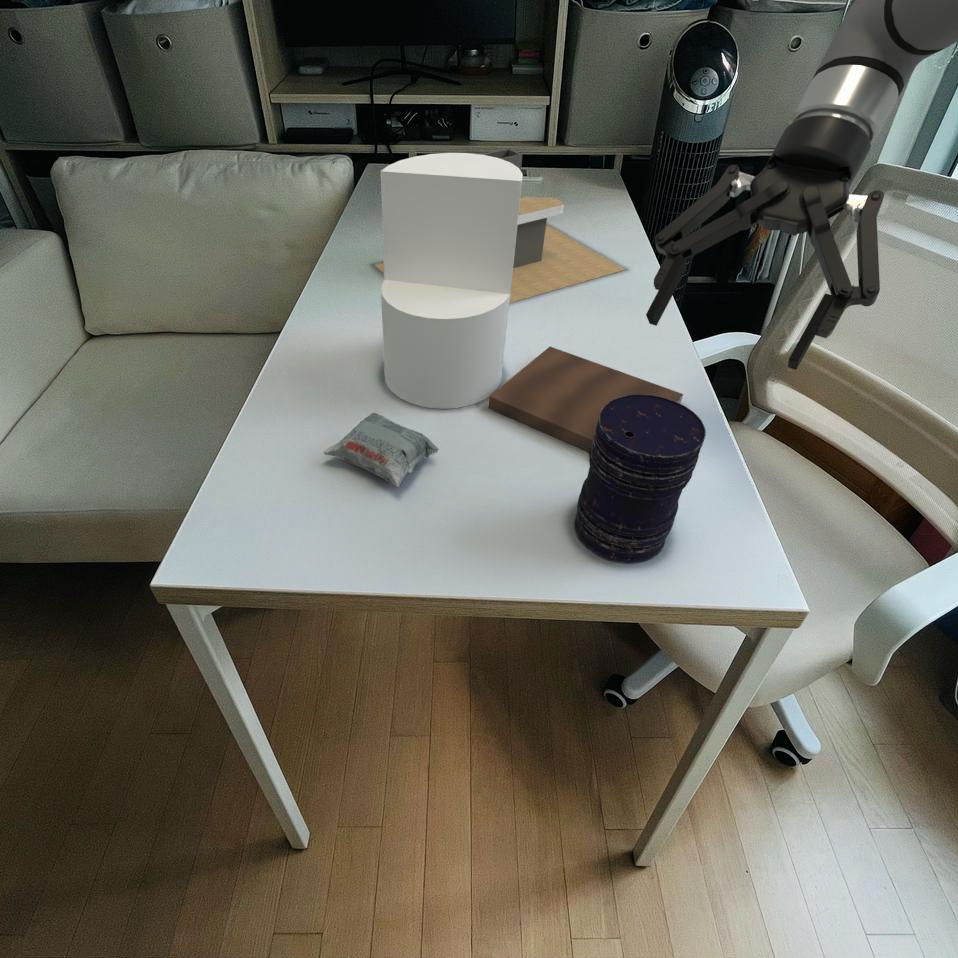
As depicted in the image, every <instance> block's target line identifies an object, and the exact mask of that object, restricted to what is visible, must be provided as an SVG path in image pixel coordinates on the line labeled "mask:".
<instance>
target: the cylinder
mask: <svg viewBox="0 0 958 958" xmlns="http://www.w3.org/2000/svg"><path fill="white" fill-rule="evenodd" d="M480 154H481V153H479V154H478V153H469V152H442V153H439V152H438V153H429V154H422V155H417V156H412V157H408V158H404V159H400V160H397V161H395V162H393V163H391V164H389V165H387V166H386V167H384V168H383V169H381V170H380V192H381V193H380V194H381V195H380V198H381V199H380V200H381V224H382V252H383V253H382V254H383V255H382V256H383V262H384V273H383V282H382V284H381V285H380V296H381V297H380V299H381V322H382V325H381V326H382V347H383V348H382V349H383V373H384V374H383V375H384V382H385V384H386V386H387V387H388V389H389V391H391V392H392V393H393V394H394V395H395V396H396V397H398V398H399V399H401V400H403V401H405V402H407V403H409V404H411V405H415V406H420V407H422V408H423V407H424V408H428V409H439V410H440V409H441V410H445V409H446V410H447V409H460V408H464V407H467V406H472V405H475V404H477V403H479V402H482V401H484V400H486V399H489V396H491V395H492V394H493V393H494V392H495V391H497V390H498V389H499V386H500V385H501V383H502V377H503V369H504V368H503V367H504V357H505V347H506V341H507V340H506V338H507V330H508V329H507V328H508V321H509V311H510V303H509V301H510V292H511V282H512V273H513V263H514V254H515V244H516V235H517V225H518V215H519V206H520V197H522V196H521V195H522V187H523V186H522V185H523V176H524V174H523V172H522V170H521V171H520V169H519V168H518V167H516V166H515V165H513V164H512V163H510V162H508V161H505V160H502V159H499V158H496V157H491V156H486V155H480Z"/></svg>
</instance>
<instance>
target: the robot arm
mask: <svg viewBox="0 0 958 958" xmlns="http://www.w3.org/2000/svg"><path fill="white" fill-rule="evenodd" d="M844 13H845V14H844V15H843V18H842V21H841V23H840V24H839V27H838V28H837V30H836V33H835V34H834V37H833V38H832V40H831V42H830V44H829V46H828V48H827V50H826V52H825V54H824V56H823V57H822V59H821V62H820V63H819V66H818V67H817V70H816V71H815V73H814V74H813V77H812V78H811V81H810V82H809V84H808V86H807V88H806V90H805V91H804V93H803V95H802V97H801V98H800V101H799V102H798V104H797V106H796V108H795V110H794V112H793V113H792V115H791V117H790V120H789V125H787V127H785V129H784V130H783V132H782V135H781V136H780V138H779V140H778V141H777V144H776V145H775V148H774V150H773V151H772V153H771V155H770V156H769V159H768V161H767V162H766V165H765V167H764V168H763V170H762V171H761V172H759V173H758V174H757V175H751V174H748V173H745V172H742V171H740V166H739V165H737V164H731V165H728V166H727V168H726V169H725V171H724V172H723V174H722V175H721V177H720V178H719V179H718V181H717V183H715V184H714V186H712V187H711V188H710V189H709V190H708V191H707V192H705V193H704V194H703V195H702V196H701V197H699V198H698V199H697V200H696V201H694V203H692V204H691V205H690V206H688V208H686V209H685V210H684V211H683V212H682V213H681V214H679V215H678V216H677V217H676V218H675V219H673V220H672V221H671V222H670V223H668V224H667V225H666V226H665V227H664V228H663V229H661V230H660V231H659V232H658V233H656V235H655V236H654V244H655V247H656V250H657V252H658V253H659V254H662V255H663V256H664V259H663V261H662V263H661V264H660V267H659V269H658V270H657V272H656V274H655V276H654V278H653V286H654V289H655V290H657V293H656V295H655V296H654V298H653V300H652V302H651V304H650V306H649V308H648V310H647V312H646V313H645V316H646V318H647V321H648V323H649V325H653V326H656V327H657V326H658V324H659V322H660V320H661V319H662V317H663V315H664V312H665V311H666V309H667V307H668V305H669V304H670V301H671V299H672V297H673V295H674V293H675V292H676V290H677V288H678V286H679V284H680V283H681V280H682V278H683V276H684V274H685V272H686V270H687V269H688V268H687V263H686V261H687V260H688V259H690V258H692V257H694V256H696V255H698V254H700V253H701V252H703V251H705V250H707V249H709V248H710V247H713V246H715V245H717V244H718V243H720V242H722V241H724V240H725V239H728V238H729V237H731V236H733V235H735V234H737V233H739V232H740V231H746V230H749V229H750V228H752V227H755V226H756V225H759V226H761V229H763V230H767V231H780V232H783V233H785V234H787V235H790V236H794V237H797V235H800V234H805V233H806V234H807V236H808V238H809V241H810V244H811V245H812V247H813V249H814V251H815V255H816V257H817V260H818V264H819V265H820V268H821V271H822V274H823V276H824V279H825V282H826V284H827V288H828V290H829V293H830V294H829V293H826V292H825V293H824V295H823V296H822V298H821V300H820V301H819V304H818V305H817V307H816V309H815V311H814V312H813V315H812V316H811V319H810V320H809V321H808V323H807V326H806V327H805V329H804V331H803V332H802V333H801V336H800V338H799V340H798V341H797V343H796V345H795V347H794V349H793V350H792V353H791V355H790V356H789V358H788V361H787V362H788V363H787V368H788V369H791V370H795V371H797V369H798V367H799V366H800V364H801V362H802V361H803V359H804V357H805V356H806V354H807V352H808V350H809V348H810V346H811V344H812V343H813V341H814V339H815V337H816V336H817V337H820V338H824V339H828V338H829V337H830V336H831V335H832V334H833V332H834V330H835V329H836V327H837V325H838V324H839V322H840V320H841V318H842V316H843V314H844V312H845V311H846V310H847V308H849V307H851V306H863V307H870V306H872V305H874V304H875V303H876V301H877V298H878V296H879V294H880V290H881V283H880V282H881V281H880V279H881V278H880V260H879V240H878V216H879V213H880V210H881V208H882V204H883V201H884V198H885V194H884V193H885V192H883V191H882V190H879V189H878V190H873V191H871V192H869V194H868V195H867V194H865V195H864V194H855V193H854V194H853V193H850V187H851V186H852V184H853V182H854V180H855V178H856V177H857V174H858V173H859V171H860V169H861V168H862V166H863V164H864V162H865V160H866V158H867V156H868V155H869V153H870V151H871V147H872V144H873V143H874V142H875V141H876V140H877V138H878V137H879V134H880V132H881V131H882V129H883V127H884V125H885V123H886V122H887V120H888V117H889V116H890V114H891V112H892V111H893V108H894V106H895V105H896V103H897V101H898V99H899V98H900V96H901V94H902V92H903V90H904V88H905V86H906V85H907V83H908V81H909V80H910V78H911V76H912V74H913V73H914V71H915V69H916V68H917V66H918V65H919V64H920V63H921V62H922V61H924V60H925V59H927V58H929V57H931V56H933V55H935V54H937V53H939V52H941V51H943V50H945V49H948V48H949V47H951V46H952V45H954V44H956V43H958V0H850V2H849V6H847V8H846V10H845V12H844ZM744 191H749V195H750V198H748V199H746V200H743V201H742V202H741V203H739V204H738V205H737V206H736V207H735V208H734V209H733V210H731V211H729V212H727V213H725V214H724V215H721V216H720V217H718V218H715V220H713V221H711V222H708V223H707V224H705V225H704V226H702V227H699V226H701V225H702V224H703V223H705V222H706V221H707V220H708V219H710V217H712V216H713V215H714V214H715V213H716V212H718V211H719V210H720V209H721V208H722V207H723V206H725V204H727V203H728V201H729V200H730V199H731V197H732V198H736V197H738V196H739V195H740V194H741V193H742V192H744ZM844 210H847V211H849V213H850V220H851V221H853V222H854V223H858V224H857V227H856V253H857V275H858V276H857V277H858V279H857V280H858V285H857V286H856V285H853V284H852V282H851V280H850V277H849V274H848V272H847V269H846V267H845V264H844V261H843V258H842V255H841V253H840V250H839V248H838V245H837V242H836V240H835V236H834V234H833V231H832V229H831V223H830V220H829V219H832V218H833V217H835V216H837V215H838V214H840V213H841V212H842V211H844ZM698 227H699V229H697V228H698Z"/></svg>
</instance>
